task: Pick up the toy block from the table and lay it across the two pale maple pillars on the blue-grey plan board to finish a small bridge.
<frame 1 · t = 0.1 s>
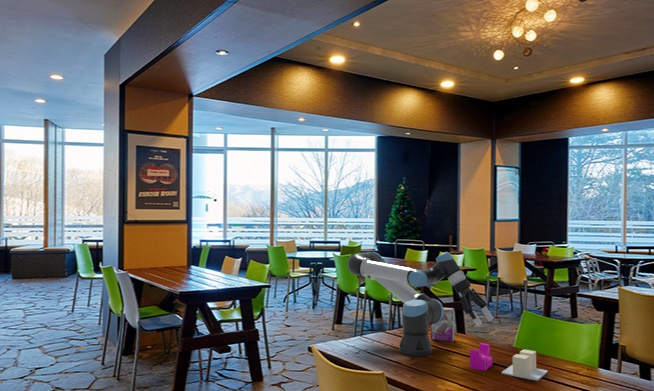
hand: (485, 322, 226), 15 cm above the table, tool tilted 35°, fingers open, 13 cm apart
candy bar box: (442, 340, 256), on the table
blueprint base: (524, 372, 202), on the table
toy block: (483, 365, 212), on the table
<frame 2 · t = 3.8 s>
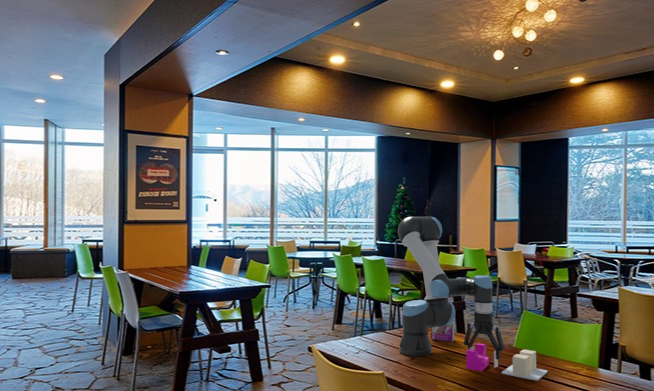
hand: (483, 364, 212), 0 cm above the table, tool pointing down, fingers open, 10 cm apart
toy block: (479, 366, 212), on the table
everything else where it was.
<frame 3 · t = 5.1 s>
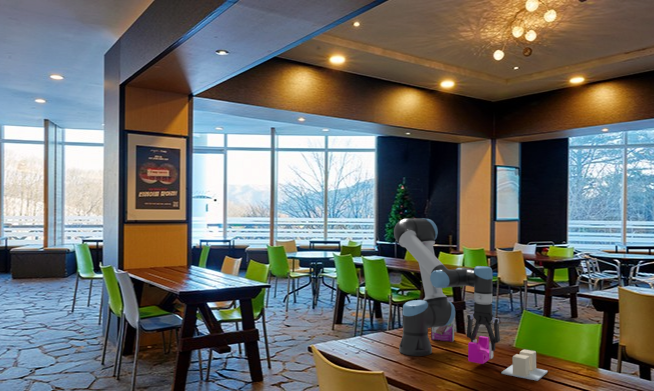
hand: (482, 356, 213), 4 cm above the table, tool pointing down, fingers closed on toy block, 6 cm apart
toy block: (481, 358, 212), point 3 cm above the table, touching gripper
everything else where it was.
when the fingers open (9 cm above the table, at t = 9.7 s): toy block stays where it is, resting on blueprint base.
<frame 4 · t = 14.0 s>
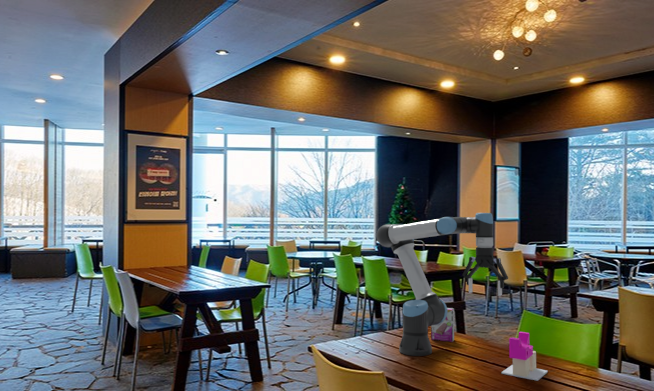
hand: (485, 294, 223), 29 cm above the table, tool pointing down, fingers open, 13 cm apart
toy block: (523, 355, 201), point 7 cm above the table, touching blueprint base
everything else where it was.
at the end: toy block 1.7 cm off-centre on the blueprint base, point 7.4 cm above the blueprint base's base; toy block tilted 0°; the gripper is holding nothing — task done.
